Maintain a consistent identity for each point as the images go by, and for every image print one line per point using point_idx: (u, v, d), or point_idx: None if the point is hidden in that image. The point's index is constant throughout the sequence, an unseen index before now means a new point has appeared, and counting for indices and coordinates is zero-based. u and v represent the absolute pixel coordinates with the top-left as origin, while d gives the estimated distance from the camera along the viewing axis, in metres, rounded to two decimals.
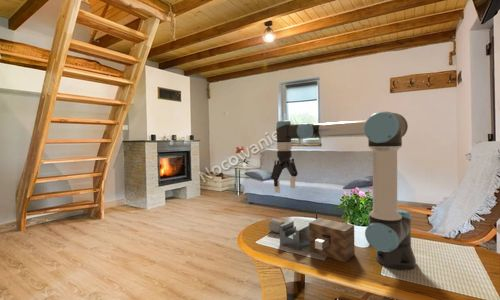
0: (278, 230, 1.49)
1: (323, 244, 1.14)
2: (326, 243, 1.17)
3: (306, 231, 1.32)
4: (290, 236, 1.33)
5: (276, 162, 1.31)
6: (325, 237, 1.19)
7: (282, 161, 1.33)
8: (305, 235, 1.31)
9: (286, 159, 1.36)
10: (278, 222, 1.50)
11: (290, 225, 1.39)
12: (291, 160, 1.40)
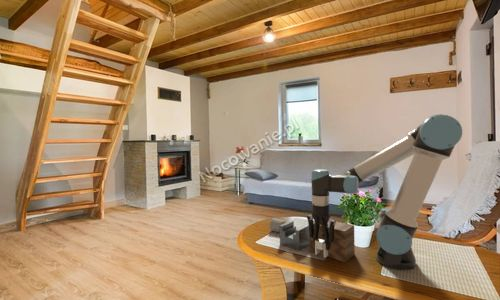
0: (279, 230, 1.49)
1: None
2: None
3: (306, 231, 1.32)
4: (290, 236, 1.33)
5: None
6: None
7: (313, 215, 1.18)
8: (305, 235, 1.31)
9: (320, 215, 1.15)
10: (279, 222, 1.51)
11: (290, 225, 1.39)
12: None
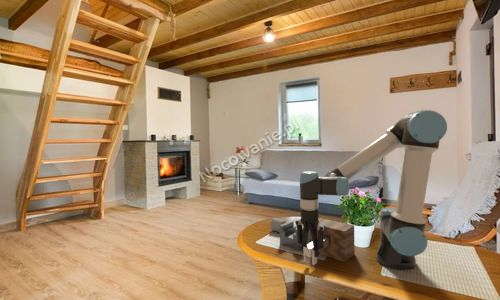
0: (279, 229, 1.50)
1: (311, 251, 1.08)
2: None
3: None
4: (290, 236, 1.33)
5: None
6: None
7: (301, 220, 1.11)
8: None
9: (308, 220, 1.09)
10: (279, 221, 1.51)
11: (290, 225, 1.39)
12: None
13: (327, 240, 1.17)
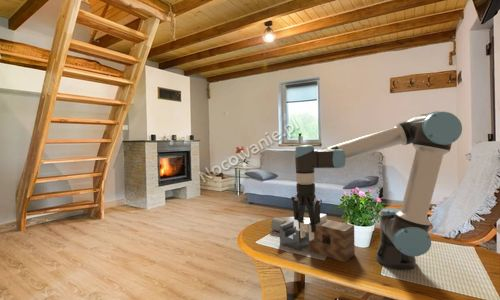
0: None
1: (308, 226, 1.05)
2: None
3: None
4: (290, 236, 1.33)
5: None
6: None
7: (298, 195, 1.09)
8: None
9: (305, 194, 1.06)
10: (280, 221, 1.52)
11: (290, 225, 1.39)
12: None
13: (324, 217, 1.15)
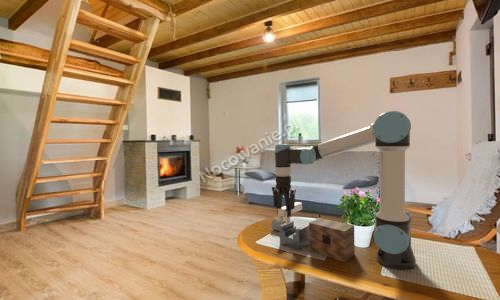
0: None
1: (284, 212, 1.26)
2: None
3: (306, 231, 1.32)
4: (290, 236, 1.33)
5: None
6: None
7: (277, 186, 1.29)
8: (305, 235, 1.31)
9: (282, 185, 1.27)
10: (281, 221, 1.52)
11: (290, 225, 1.39)
12: None
13: (300, 205, 1.35)
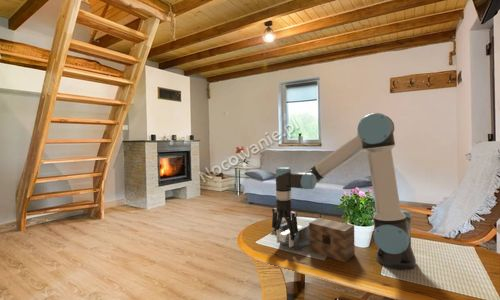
0: None
1: (285, 237, 1.26)
2: None
3: (306, 231, 1.32)
4: None
5: None
6: None
7: (277, 209, 1.30)
8: (305, 235, 1.31)
9: (283, 208, 1.27)
10: None
11: None
12: None
13: None
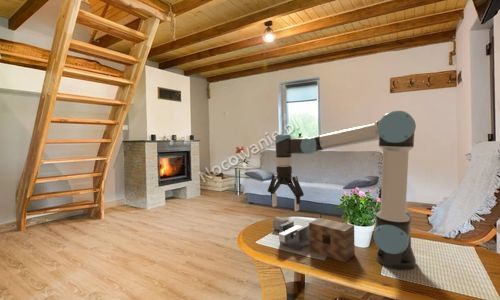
0: None
1: (285, 237, 1.26)
2: (289, 236, 1.28)
3: (306, 231, 1.32)
4: None
5: None
6: (289, 230, 1.31)
7: (278, 176, 1.29)
8: (305, 235, 1.31)
9: (283, 175, 1.26)
10: (282, 220, 1.53)
11: (290, 225, 1.39)
12: None
13: None
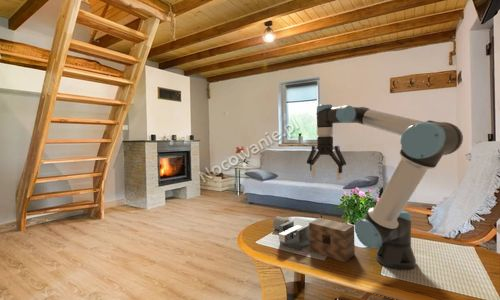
0: None
1: (285, 237, 1.26)
2: (289, 236, 1.28)
3: (306, 231, 1.32)
4: None
5: None
6: (289, 230, 1.31)
7: (318, 147, 1.30)
8: (305, 235, 1.31)
9: (324, 145, 1.28)
10: (282, 220, 1.54)
11: (290, 225, 1.39)
12: None
13: None
